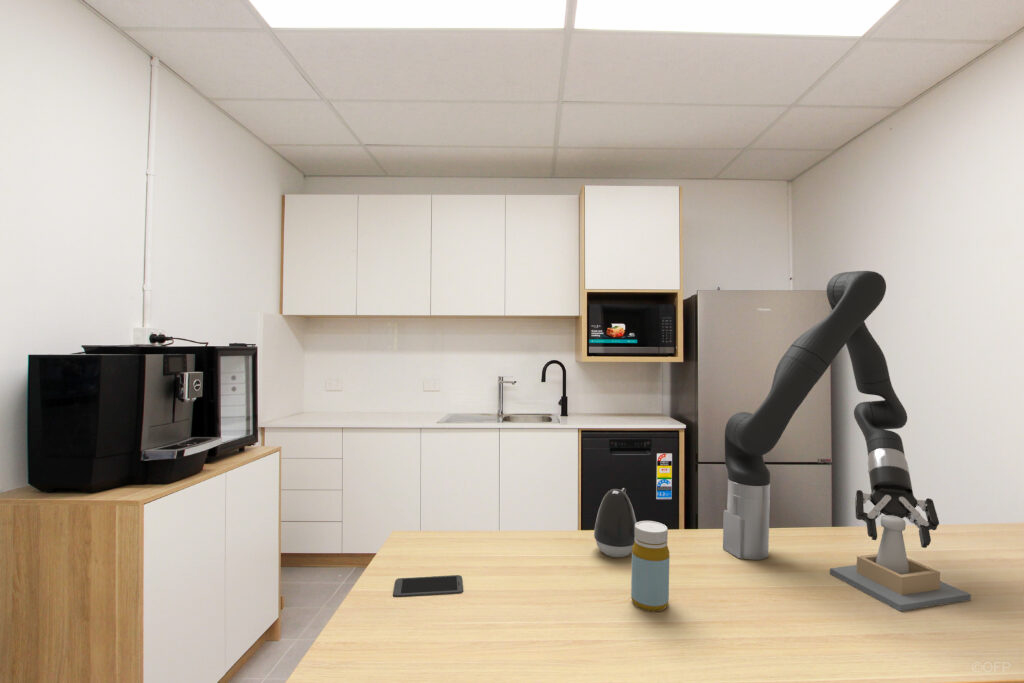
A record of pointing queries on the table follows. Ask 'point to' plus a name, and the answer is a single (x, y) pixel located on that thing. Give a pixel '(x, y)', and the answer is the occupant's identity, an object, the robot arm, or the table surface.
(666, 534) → the bottle
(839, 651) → the table surface
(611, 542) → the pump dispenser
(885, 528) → the salt shaker
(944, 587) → the holder
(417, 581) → the cell phone
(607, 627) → the table surface
